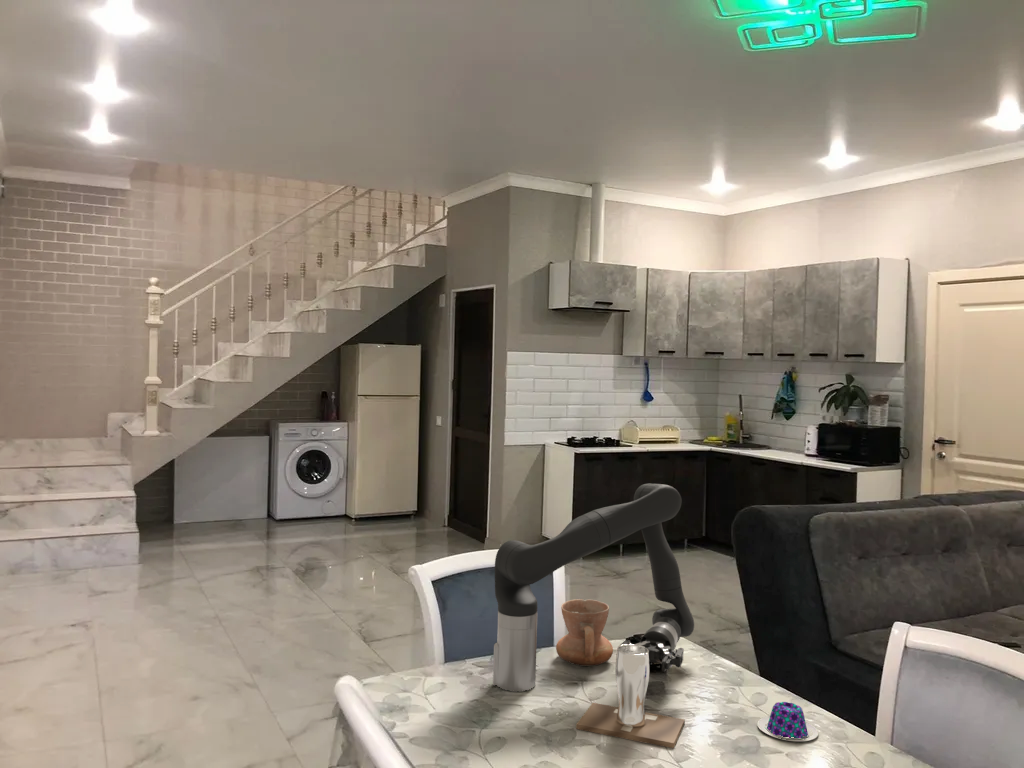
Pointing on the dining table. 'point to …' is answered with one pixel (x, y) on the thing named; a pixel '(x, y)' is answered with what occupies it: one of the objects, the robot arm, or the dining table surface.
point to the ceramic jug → (584, 633)
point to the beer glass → (632, 684)
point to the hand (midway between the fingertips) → (644, 663)
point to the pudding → (787, 722)
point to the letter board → (653, 731)
